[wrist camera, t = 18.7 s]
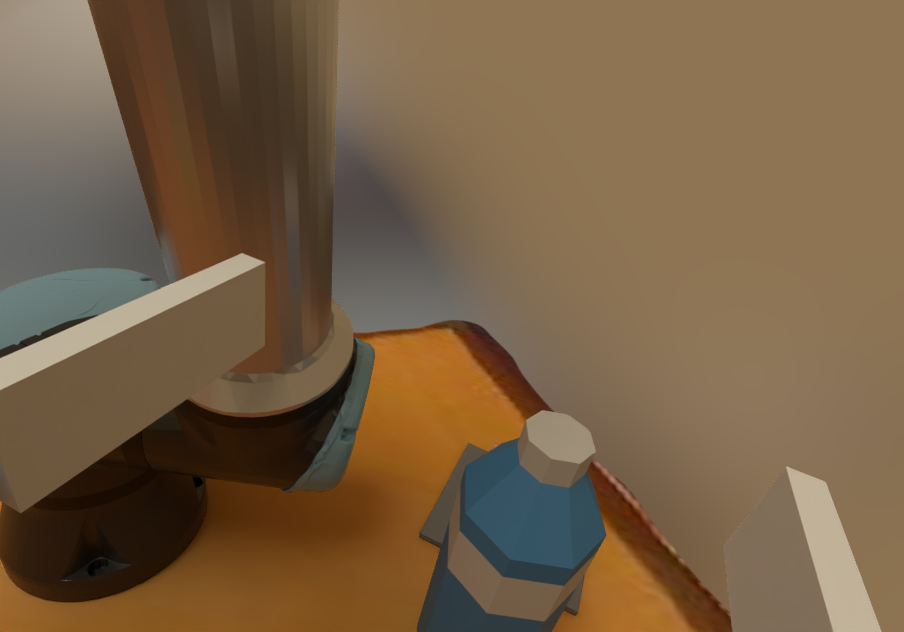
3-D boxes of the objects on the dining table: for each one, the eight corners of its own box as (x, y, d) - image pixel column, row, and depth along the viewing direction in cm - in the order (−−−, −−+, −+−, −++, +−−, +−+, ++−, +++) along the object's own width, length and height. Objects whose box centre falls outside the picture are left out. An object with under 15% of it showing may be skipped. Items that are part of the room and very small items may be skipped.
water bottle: (501, 751, 36) (632, 538, 23) (389, 679, 38) (453, 451, 25) (535, 631, 43) (649, 422, 31) (441, 577, 46) (509, 363, 33)
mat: (419, 536, 49) (420, 533, 49) (467, 446, 61) (468, 443, 60) (575, 615, 45) (578, 612, 45) (595, 503, 57) (597, 499, 57)
